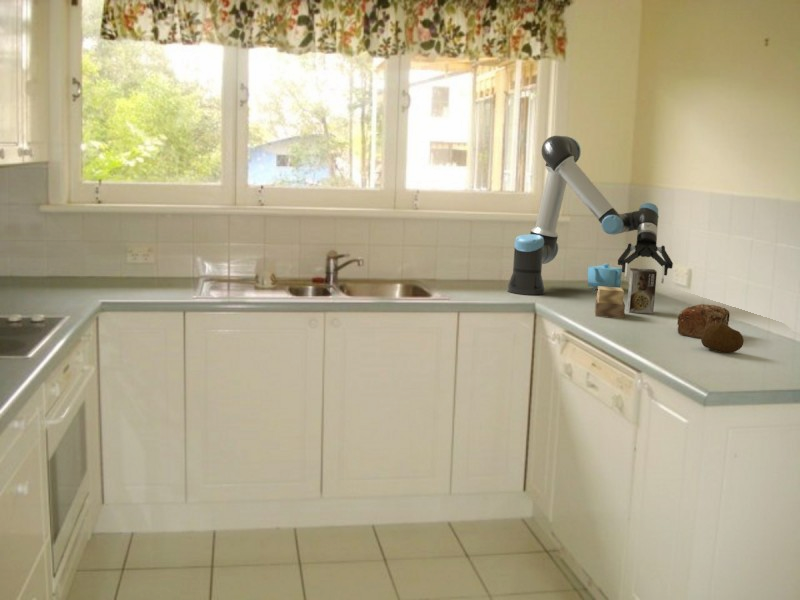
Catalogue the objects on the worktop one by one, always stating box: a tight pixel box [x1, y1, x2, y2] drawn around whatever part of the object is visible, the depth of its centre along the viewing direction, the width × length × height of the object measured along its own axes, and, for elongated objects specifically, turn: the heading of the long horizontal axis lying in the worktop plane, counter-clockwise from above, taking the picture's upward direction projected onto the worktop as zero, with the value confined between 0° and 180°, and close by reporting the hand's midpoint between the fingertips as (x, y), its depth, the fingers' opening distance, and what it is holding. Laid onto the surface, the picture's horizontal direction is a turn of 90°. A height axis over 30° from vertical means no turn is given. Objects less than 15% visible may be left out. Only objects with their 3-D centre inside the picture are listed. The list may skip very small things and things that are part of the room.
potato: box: [700, 323, 745, 354], centre depth 270 cm, size 8×12×9 cm
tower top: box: [596, 286, 625, 305], centre depth 324 cm, size 8×8×5 cm
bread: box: [676, 303, 731, 340], centre depth 297 cm, size 19×11×10 cm, turn 137°
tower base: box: [594, 298, 626, 319], centre depth 325 cm, size 10×10×5 cm
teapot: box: [587, 263, 623, 290], centre depth 385 cm, size 16×18×11 cm
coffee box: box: [626, 267, 658, 315], centre depth 333 cm, size 9×6×16 cm
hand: (643, 279), depth 335 cm, fingers open, 13 cm apart
